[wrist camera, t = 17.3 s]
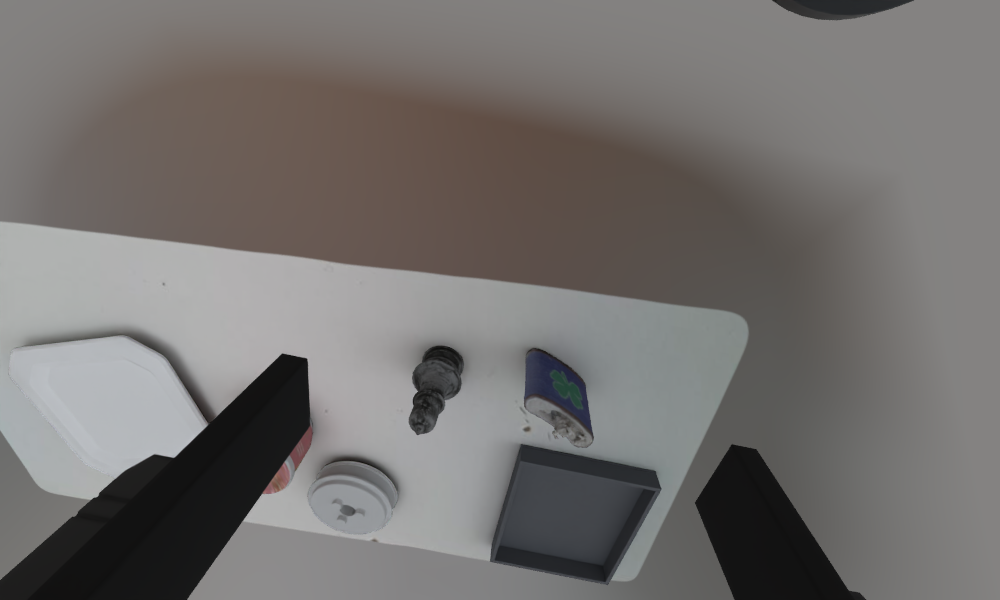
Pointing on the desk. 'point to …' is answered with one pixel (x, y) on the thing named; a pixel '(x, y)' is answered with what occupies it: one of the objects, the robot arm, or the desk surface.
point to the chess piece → (434, 386)
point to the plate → (108, 399)
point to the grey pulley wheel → (352, 497)
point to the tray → (571, 514)
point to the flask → (558, 397)
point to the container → (290, 464)
